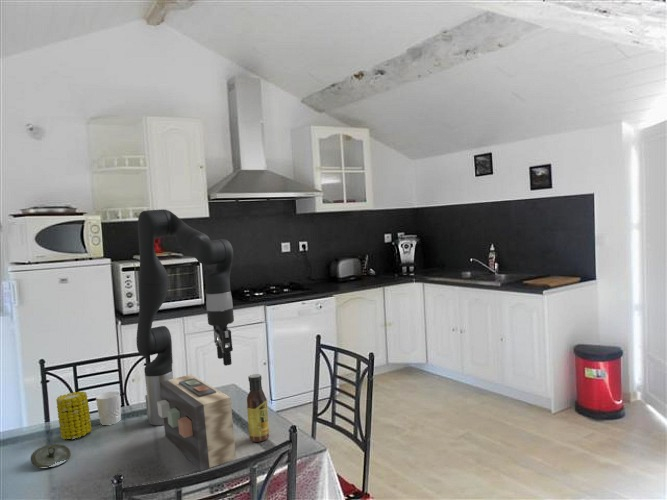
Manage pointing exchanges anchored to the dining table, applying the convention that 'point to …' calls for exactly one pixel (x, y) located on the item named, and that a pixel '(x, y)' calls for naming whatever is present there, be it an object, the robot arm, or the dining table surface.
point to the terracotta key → (185, 427)
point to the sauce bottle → (257, 410)
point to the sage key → (173, 417)
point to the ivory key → (163, 408)
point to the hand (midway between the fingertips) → (224, 361)
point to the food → (73, 415)
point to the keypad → (200, 421)
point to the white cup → (109, 407)
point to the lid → (50, 455)
